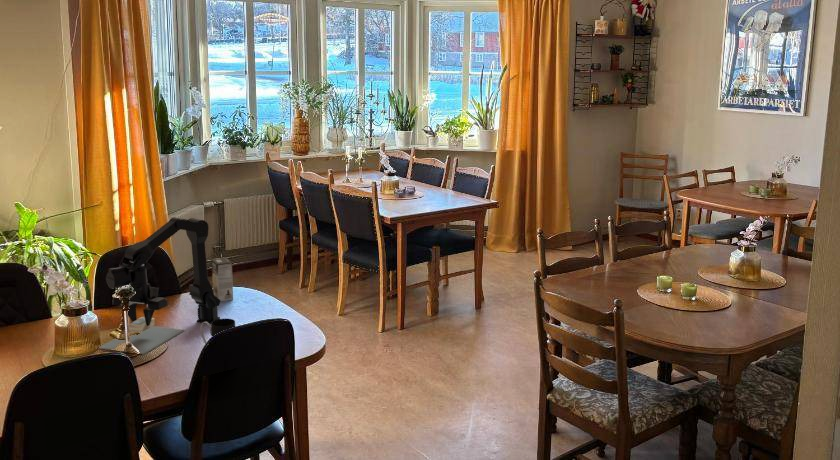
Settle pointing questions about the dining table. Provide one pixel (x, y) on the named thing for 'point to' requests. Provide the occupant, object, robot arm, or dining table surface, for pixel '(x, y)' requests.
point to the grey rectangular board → (146, 339)
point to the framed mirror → (140, 325)
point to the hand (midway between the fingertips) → (141, 324)
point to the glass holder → (218, 326)
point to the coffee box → (222, 278)
